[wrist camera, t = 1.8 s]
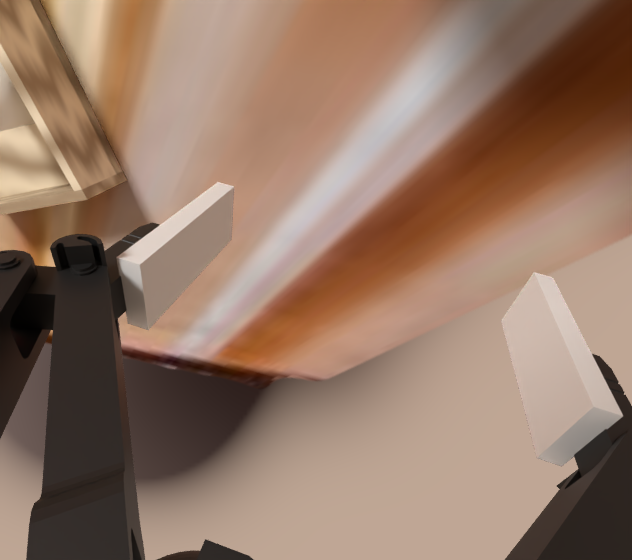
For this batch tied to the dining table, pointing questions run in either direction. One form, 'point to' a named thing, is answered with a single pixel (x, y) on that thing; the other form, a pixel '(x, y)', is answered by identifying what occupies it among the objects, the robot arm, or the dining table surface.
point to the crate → (48, 120)
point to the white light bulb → (11, 105)
